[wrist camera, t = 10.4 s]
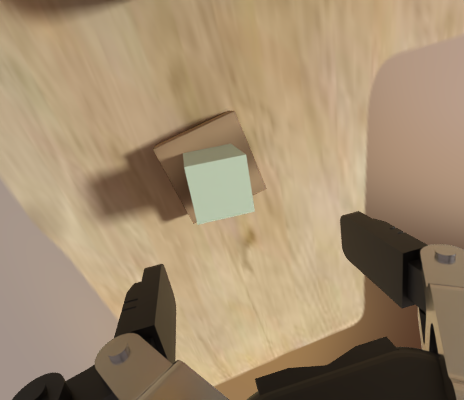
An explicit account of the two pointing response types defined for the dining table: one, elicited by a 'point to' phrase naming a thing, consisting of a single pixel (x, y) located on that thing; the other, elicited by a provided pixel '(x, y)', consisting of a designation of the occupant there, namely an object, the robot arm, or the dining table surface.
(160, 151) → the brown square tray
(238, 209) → the green block
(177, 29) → the dining table surface
